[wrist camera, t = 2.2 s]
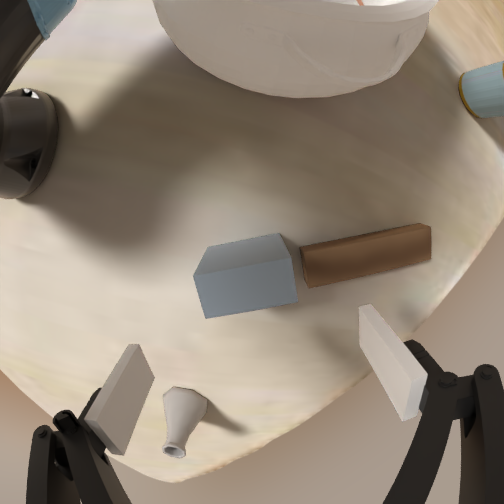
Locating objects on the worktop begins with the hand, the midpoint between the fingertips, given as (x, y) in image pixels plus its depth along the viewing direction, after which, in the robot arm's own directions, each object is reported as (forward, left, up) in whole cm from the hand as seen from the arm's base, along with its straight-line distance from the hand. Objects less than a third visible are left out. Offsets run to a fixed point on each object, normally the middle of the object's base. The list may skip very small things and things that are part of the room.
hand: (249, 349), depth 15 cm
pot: (-28, +10, -17) cm, 35 cm away
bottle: (-17, +36, -17) cm, 43 cm away
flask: (+21, -14, -17) cm, 30 cm away
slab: (0, 0, -17) cm, 17 cm away
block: (+2, +14, -17) cm, 22 cm away
